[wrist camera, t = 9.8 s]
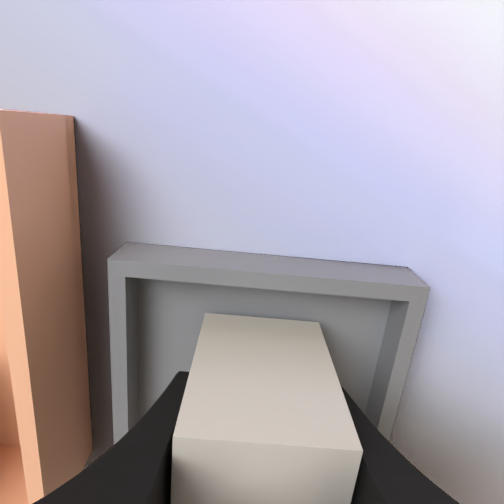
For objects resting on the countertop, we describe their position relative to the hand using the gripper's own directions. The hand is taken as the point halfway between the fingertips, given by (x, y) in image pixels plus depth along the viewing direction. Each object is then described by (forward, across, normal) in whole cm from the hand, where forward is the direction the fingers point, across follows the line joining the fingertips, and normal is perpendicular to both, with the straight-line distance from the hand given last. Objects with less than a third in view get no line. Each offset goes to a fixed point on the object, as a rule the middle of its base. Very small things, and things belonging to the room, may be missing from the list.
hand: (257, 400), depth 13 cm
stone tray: (+3, 0, +4) cm, 5 cm away
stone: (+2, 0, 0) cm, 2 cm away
